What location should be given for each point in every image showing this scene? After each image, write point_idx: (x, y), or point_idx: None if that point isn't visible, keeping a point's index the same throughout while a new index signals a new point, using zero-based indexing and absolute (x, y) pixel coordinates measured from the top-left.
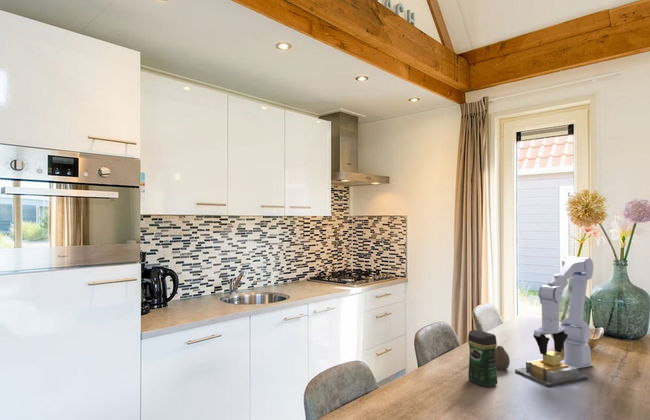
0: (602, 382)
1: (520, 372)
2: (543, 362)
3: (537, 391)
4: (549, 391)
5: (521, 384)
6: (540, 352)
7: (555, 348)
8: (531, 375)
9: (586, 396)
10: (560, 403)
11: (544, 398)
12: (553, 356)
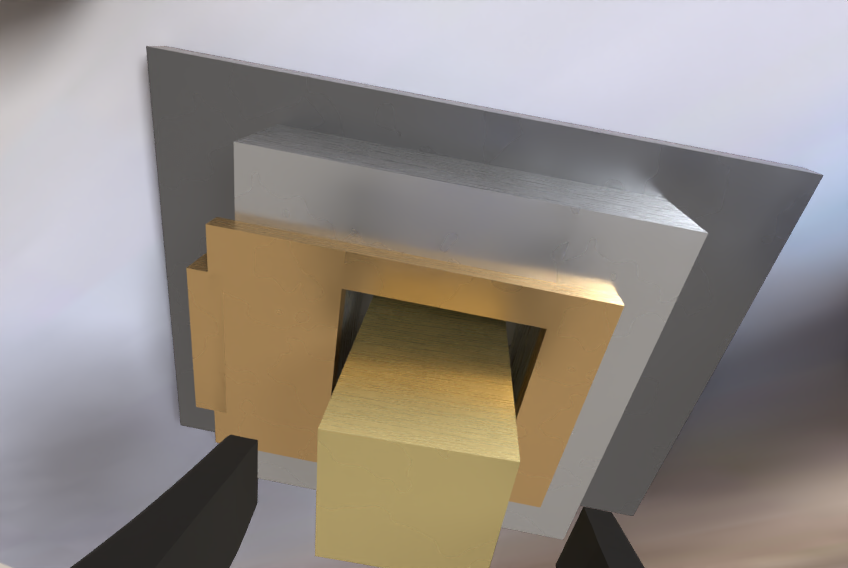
0: (641, 556)
1: (159, 135)
2: (358, 340)
3: (59, 398)
4: (143, 437)
5: (18, 277)
6: (213, 452)
7: (590, 557)
8: (191, 261)
9: (304, 563)
10: (80, 524)
11: (32, 461)
12: (333, 548)
